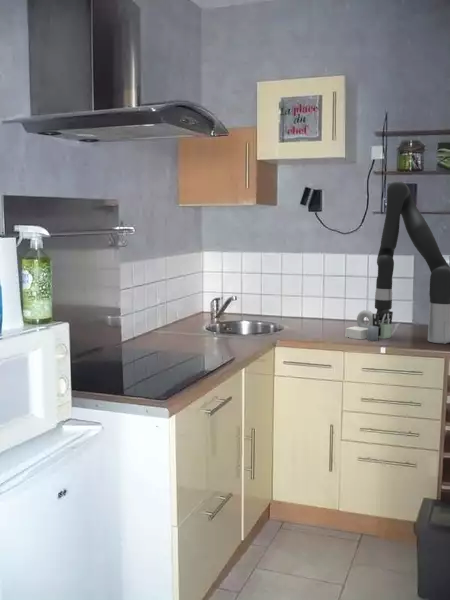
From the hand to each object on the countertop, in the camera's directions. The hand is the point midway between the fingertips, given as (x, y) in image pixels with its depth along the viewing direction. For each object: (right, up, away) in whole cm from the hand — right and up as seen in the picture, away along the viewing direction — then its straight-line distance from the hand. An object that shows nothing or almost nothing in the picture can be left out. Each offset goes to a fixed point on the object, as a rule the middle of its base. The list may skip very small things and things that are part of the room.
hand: (381, 334), depth 297 cm
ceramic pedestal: (-11, -1, -2) cm, 11 cm away
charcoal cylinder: (-6, -2, -7) cm, 10 cm away
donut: (-4, +1, +16) cm, 17 cm away
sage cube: (0, -1, 0) cm, 1 cm away
